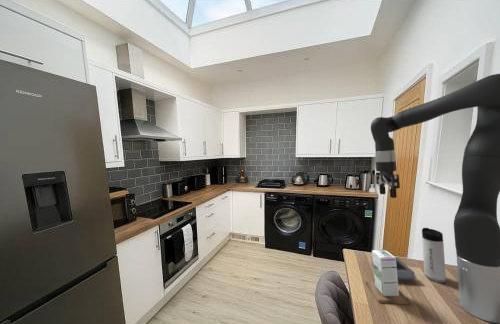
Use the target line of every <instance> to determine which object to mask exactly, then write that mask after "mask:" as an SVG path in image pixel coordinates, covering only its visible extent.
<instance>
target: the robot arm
mask: <svg viewBox="0 0 500 324" xmlns="http://www.w3.org/2000/svg"><path fill="white" fill-rule="evenodd" d="M471 108H477V109H476V110H477V113H476V114H477V115H476V122H475V123H476V124H475V127H474V130H473V131H472V133H471V135H470V137H469V139H468V141H467V143H466V145H465V148H464V152H463V157H462V164H461V183H462V195H461V198H460V202H459V205H458V209H457V211H456V213H455V216H454V219H453V232H454V233H453V235H454V244H455V250H456V251H455V252H456V264H457V280H458V294H459V298H458V299H459V305H460V306H461V308H462V309H463V310H465V311H466V312H467V313H469V314H470V315H472V316H473V317H476V318H478V319H480V320H483V321H486V322H489V323H492V324H493V323H494V324H500V225H499V222H498V215H497V213H498V212H497V211H498V198H499V195H500V73H496V74H491V75H488V76H485V77H483V78H481V79H480V78H479V79H478V80H476V81H474V82H472V83H470V84H469V85H468V84H467V85H466V86H464V87H461V88H459V89H458V90H455V91H453V92H450V93H448V94H445V95H443V96H441V97H438V98H436V99H432V100H430V101H427V102H424V103H420V104H419V105H415V106H413V107H409V108H407V109H403V110H401V111H398V112H397V113H396V114H395V115H392V116H388V117H385V116H384V117H382V116H379V117H376V118H374V119H373V120H372V121H371V124H370V132H371V136H372V139H373V141H374V146H375V147H374V148H375V155H374V157H375V170H376V172H375V182H376V185H377V186H378V189H379V194H380V195H385V194H386V185H387V186H388V189H389V198H392V199H396V198H397V196H398V195H397V190H398V189H400V187H401V184H400V183H401V182H400V176H399V174H398V173H397V174H395V173H394V172H395V171H397V156H396V151H395V142H394V139H393V138H392V137H390V133H392V132H395V131H398V130H399V131H400V130H401V129H403V128H407V127H412V126H416V125H418V124H422V123H426V122H429V121H431V120H433V119H436V118H438V117H440V116H443V115H446V114H449V113H452V112H453V113H454V112H457V111H460V110H466V109H471Z"/></svg>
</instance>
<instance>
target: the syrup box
mask: <svg viewBox="0 0 500 324" xmlns="http://www.w3.org/2000/svg"><path fill="white" fill-rule="evenodd" d="M396 258H397V257H395V256H394V255H393V254H391V253H390V252H389V251H388V250H386V249H375V250H371V260H372V259H373V266H372V268H373V269H372V270H373V280H374V281H373V282H374V283H375V287H376V288H377V289H378V290H379V291H380V292H381V293H382V295H383V296H399V290H400V289H399V281H398V278H397V270H398V269H397V266H396Z"/></svg>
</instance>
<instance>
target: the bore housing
mask: <svg viewBox="0 0 500 324" xmlns="http://www.w3.org/2000/svg"><path fill="white" fill-rule="evenodd" d="M371 266H372V267H373V259H372V258H371ZM396 266H397V278H398V282H405V283H407V282H408V283H416V276H415V271H414V270H412V269H411V268H410V267H409V266H407V265H406V263H404V262H403V261H402V260H401V259H400V258H398V257H396Z"/></svg>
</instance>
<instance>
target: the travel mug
mask: <svg viewBox="0 0 500 324" xmlns="http://www.w3.org/2000/svg"><path fill="white" fill-rule="evenodd" d="M421 235H422V236H421V238H422V239H421V240H422V241H421V242H422V256H423V268H424V270H423V271H424V276H425V278H427V279H429V280H431V281H433V282H436V283H446V282H447V276H446V275H447V274H446V261H445V248H444V235H443V232H441V231H440V230H437V229H433V228H428V227H423V228H422V229H421Z"/></svg>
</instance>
